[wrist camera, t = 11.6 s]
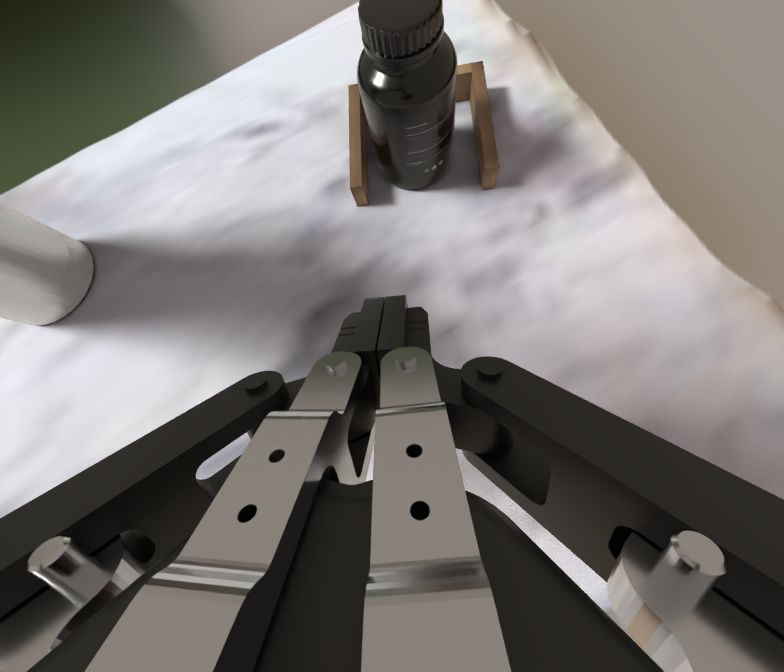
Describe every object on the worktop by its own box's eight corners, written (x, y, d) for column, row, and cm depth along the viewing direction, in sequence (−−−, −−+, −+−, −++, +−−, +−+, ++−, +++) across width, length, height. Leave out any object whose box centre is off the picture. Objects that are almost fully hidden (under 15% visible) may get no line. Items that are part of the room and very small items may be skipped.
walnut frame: (357, 206, 29) (350, 187, 27) (355, 110, 32) (348, 85, 30) (493, 188, 28) (498, 166, 25) (479, 89, 30) (482, 60, 28)
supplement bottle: (365, 155, 30) (319, -4, 19) (426, 117, 30) (418, -65, 19) (402, 206, 29) (377, 64, 17) (468, 166, 29) (487, -4, 17)
